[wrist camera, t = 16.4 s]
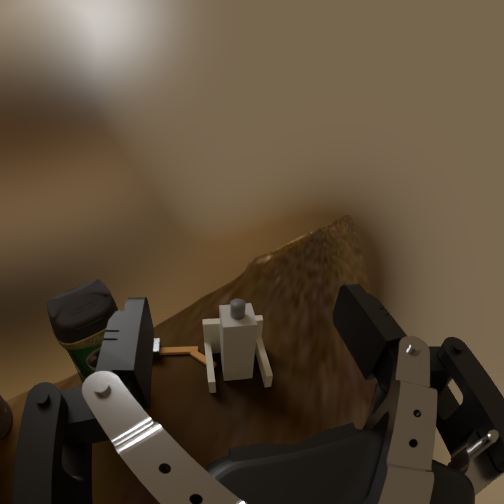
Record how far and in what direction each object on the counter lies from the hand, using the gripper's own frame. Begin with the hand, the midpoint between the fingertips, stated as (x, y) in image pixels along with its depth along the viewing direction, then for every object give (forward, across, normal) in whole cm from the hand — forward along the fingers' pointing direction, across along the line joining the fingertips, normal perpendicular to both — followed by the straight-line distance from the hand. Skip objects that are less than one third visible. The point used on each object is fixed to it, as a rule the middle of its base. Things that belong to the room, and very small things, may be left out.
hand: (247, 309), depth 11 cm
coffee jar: (+17, +17, +30) cm, 39 cm away
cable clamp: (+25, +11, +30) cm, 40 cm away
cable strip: (+23, +5, +30) cm, 38 cm away
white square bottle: (+20, -3, +30) cm, 36 cm away
